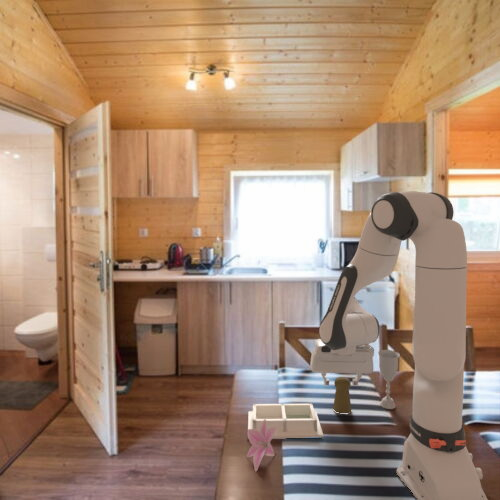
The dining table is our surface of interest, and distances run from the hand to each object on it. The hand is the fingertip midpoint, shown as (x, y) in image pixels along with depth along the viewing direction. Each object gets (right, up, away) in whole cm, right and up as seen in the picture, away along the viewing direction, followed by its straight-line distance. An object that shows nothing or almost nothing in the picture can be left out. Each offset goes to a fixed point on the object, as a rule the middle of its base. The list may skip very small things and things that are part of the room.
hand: (340, 384), depth 131 cm
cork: (+1, -9, 0) cm, 9 cm away
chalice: (+17, -8, +3) cm, 19 cm away
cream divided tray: (-19, -10, -8) cm, 23 cm away
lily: (-27, -12, -24) cm, 38 cm away
